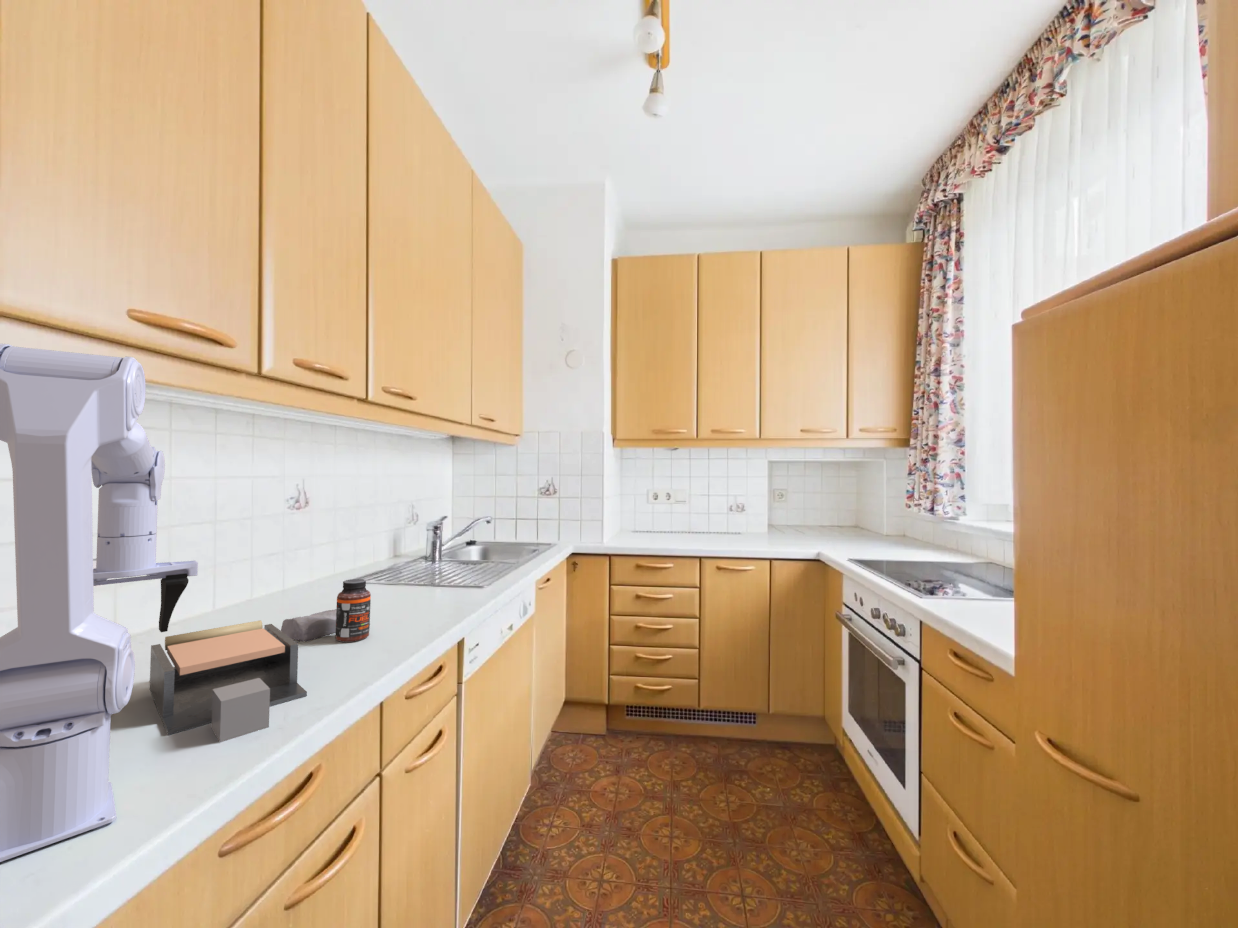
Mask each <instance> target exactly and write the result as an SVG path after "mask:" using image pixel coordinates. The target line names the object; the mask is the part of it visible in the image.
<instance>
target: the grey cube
mask: <svg viewBox="0 0 1238 928" xmlns="http://www.w3.org/2000/svg"><path fill="white" fill-rule="evenodd" d="M270 707H271V706H270V688H269V687H268V686H267V685H266V684H265V683H264V682H263V681H262V680H261V679H260V678H256V679H252V680H248V681H244V682H240V683H236V684H232V685H228V686H224V687H220V688H216V689H212V721H211V723H210V726H211V730H212V731H213V733H214V735H215V737H216V738H217V740H218V742H219V743H223V742H225V741H229V740H232V739H236V738H239V737H243V736H246V735H248V734H252V733H255V732H258V730H259V731H262V730H265V729H267V728H270Z"/></svg>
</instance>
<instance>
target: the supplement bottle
mask: <svg viewBox="0 0 1238 928" xmlns="http://www.w3.org/2000/svg"><path fill="white" fill-rule="evenodd" d="M342 582H343V583H342V590H341V591H340V592H339V593H338V594H337V596H336V608H335V609H336V633H335V639H336V641H338V642H342V643H353V642H354V643H355V642H359V641H362V640H365V639H367V637H369V635H370V629H371V628H370V627H371V626H370V625H371V621H370V620H371V604H372V603H371V597H372V595H371V592H370V591H369V590H368V589H367V588H366V587H367V585H366V584H367V580H366V579H365V578H350V579H346V580H344V581H342Z"/></svg>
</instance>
